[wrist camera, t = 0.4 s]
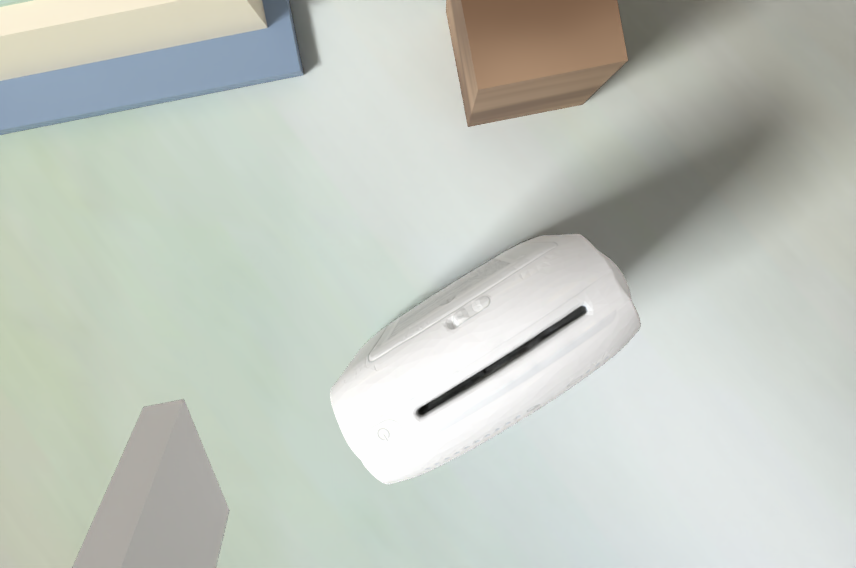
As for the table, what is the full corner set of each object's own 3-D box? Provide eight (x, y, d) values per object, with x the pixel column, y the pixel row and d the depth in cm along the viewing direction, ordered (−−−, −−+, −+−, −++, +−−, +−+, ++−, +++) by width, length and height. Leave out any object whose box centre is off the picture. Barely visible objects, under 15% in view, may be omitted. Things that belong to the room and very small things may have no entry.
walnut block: (582, 104, 34) (628, 60, 26) (468, 126, 34) (477, 89, 26) (561, -12, 34) (600, -93, 26) (446, 11, 34) (449, -63, 26)
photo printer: (397, 430, 35) (376, 532, 22) (344, 348, 34) (294, 404, 22) (597, 305, 34) (690, 339, 22) (545, 221, 34) (608, 207, 22)
